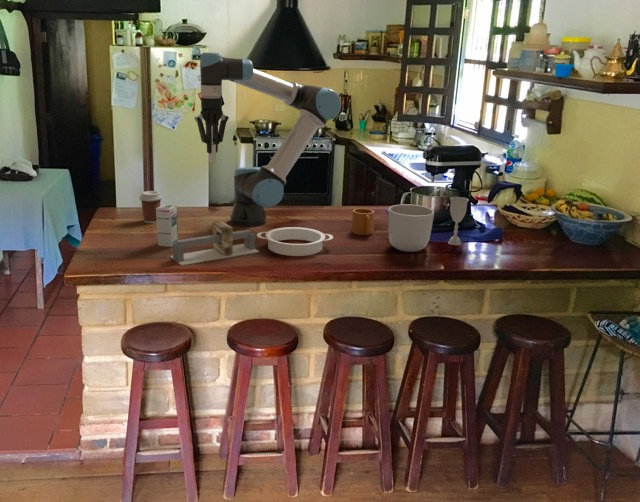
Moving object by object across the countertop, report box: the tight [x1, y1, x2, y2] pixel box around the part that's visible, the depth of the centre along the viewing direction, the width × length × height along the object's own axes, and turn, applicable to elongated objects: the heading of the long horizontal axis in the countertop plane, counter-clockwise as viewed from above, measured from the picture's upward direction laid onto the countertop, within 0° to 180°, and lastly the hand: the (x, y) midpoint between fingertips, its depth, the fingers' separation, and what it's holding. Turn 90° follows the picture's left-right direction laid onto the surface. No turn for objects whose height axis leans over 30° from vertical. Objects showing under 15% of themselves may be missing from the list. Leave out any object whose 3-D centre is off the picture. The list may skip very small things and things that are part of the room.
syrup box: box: [156, 204, 179, 248], centre depth 237 cm, size 6×6×14 cm
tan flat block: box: [212, 220, 234, 255], centre depth 230 cm, size 3×10×10 cm, turn 35°
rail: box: [169, 229, 260, 267], centre depth 229 cm, size 30×10×7 cm, turn 125°
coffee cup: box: [139, 190, 163, 224], centre depth 265 cm, size 9×9×12 cm
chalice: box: [447, 196, 470, 246], centre depth 251 cm, size 7×7×18 cm
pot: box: [256, 226, 334, 257], centre depth 241 cm, size 29×22×5 cm
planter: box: [387, 203, 435, 253], centre depth 243 cm, size 17×17×15 cm
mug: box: [351, 208, 375, 236], centre depth 261 cm, size 9×12×9 cm
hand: (212, 161), depth 241 cm, fingers closed
